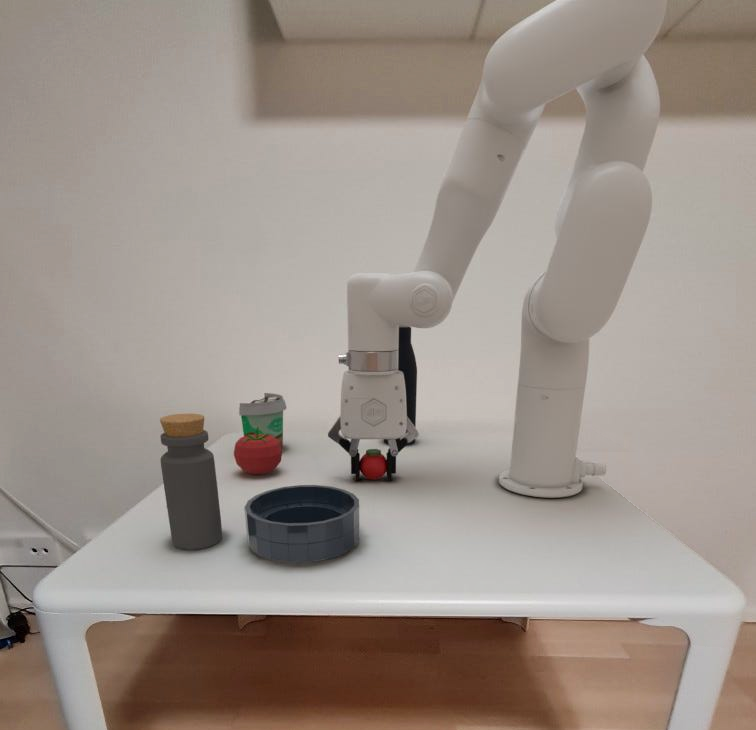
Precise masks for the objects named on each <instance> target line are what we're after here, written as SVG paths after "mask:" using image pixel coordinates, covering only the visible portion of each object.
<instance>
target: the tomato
mask: <svg viewBox="0 0 756 730" xmlns="http://www.w3.org/2000/svg"><path fill="white" fill-rule="evenodd" d="M258 429H259V428H258V427H257V430H256V434H254V435H249V434H248V435H245V436H244V435H243V436H241V437H239V439H238V440H236V442H235V444H234V450H233V457H234V460H235V463H236V465H237V466H238V467H239V468H240V469H241V470H242V471H243V472H245V473H247V474H251V475H252V474H253V475H264V474H268V473H271V472H273V471H274V470H275V469H276V468H277V467H278V466H279V465H280V464H281V462H282V458H283V457H282V456H283V450H282V449H281V446H280V443H279V441H278V440H277V439H276V438H275V437H273V436H271V435H272V434H268V433H267V434H258Z"/></svg>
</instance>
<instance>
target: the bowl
mask: <svg viewBox="0 0 756 730" xmlns="http://www.w3.org/2000/svg"><path fill="white" fill-rule="evenodd" d="M244 518H245V519H244V520H245V528H246V539H247V544H248V547H249V549H250V550H251V551H252V552H254V553H255V554H256V555H258V556H259V557H262V558H264V559H268V560H271V561H277V562H285V563H311V562H317V561H318V562H319V561H325V560H328V559H331V558H335V557H337V556H338V557H339V556H341V555H344V554H346V553H347V552H349V551H350V550H352V549H354V548H355V547H356V545H357V544H358V543H359V541H360V540H361V539H360V499H359V498H358V497H357V496H356V495H355V494H354V493H353V492H351V491H349V490H346V489H344V488H338V487H335V486H329V485H319V484H299V485H297V484H296V485H290V486H289V485H288V486H282V487H277V488H273V489H269V490H266V491H264V492H260V493H258V494H256V495H254V496H253V497H250V499H248V500H247V502H246V504H245V505H244Z"/></svg>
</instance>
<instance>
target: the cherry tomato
mask: <svg viewBox="0 0 756 730" xmlns="http://www.w3.org/2000/svg"><path fill="white" fill-rule="evenodd" d="M386 471H387V457H386V456H385V455H384V454H382V450H381V449H378V448H367V449H366V450H365V453H364V454H363V455H362V456H361V457H360V474H361V475H362V476H363V477H365V478H366V479H368V480H371V481H375V480H377V481H378V480H379V479H381V478H383V477H384V476H386Z"/></svg>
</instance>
